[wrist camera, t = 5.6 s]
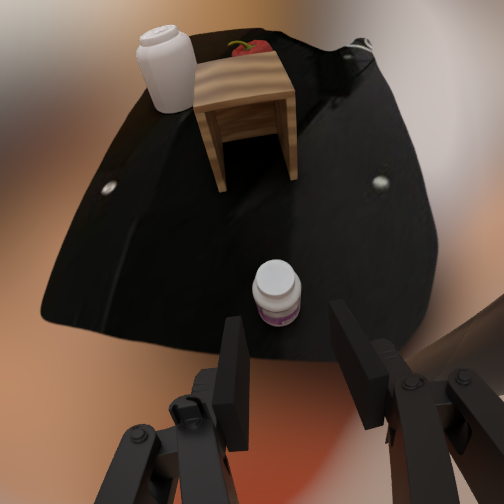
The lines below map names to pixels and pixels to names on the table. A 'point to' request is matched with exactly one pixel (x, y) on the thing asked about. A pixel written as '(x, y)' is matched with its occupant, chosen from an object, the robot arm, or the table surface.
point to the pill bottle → (277, 293)
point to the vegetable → (250, 48)
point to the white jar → (168, 68)
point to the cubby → (245, 106)
